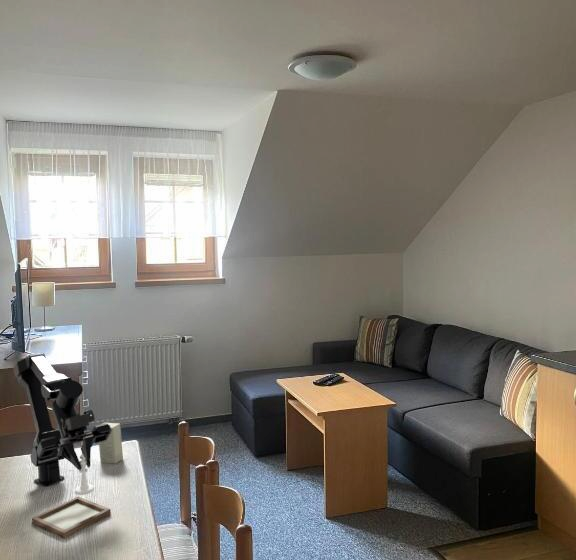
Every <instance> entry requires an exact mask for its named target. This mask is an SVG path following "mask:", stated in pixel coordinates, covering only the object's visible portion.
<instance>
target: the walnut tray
mask: <svg viewBox="0 0 576 560" xmlns="http://www.w3.org/2000/svg"><path fill="white" fill-rule="evenodd" d="M111 514H112V513H111V508H109V507H106V506H103V505H101V504H99V503H96V502H94V501H91V500H89V499H85V498H83V497H81V496H75V497H74V498H71V499H69V500H68V501H65V502H63V503H61V504H58V505H56V506H55V507H52V508H49V509H48V510H46V511H43V512H42V513H38V514H37V515H35V516H33V517H31V525H33V526H36V527H38V528H40V529H43V530H44V531H47V532H48V533H51V534H52V535H55V536H58V537H60V538H62V539H64V540H65V539H67V538H69V537H70V536H73V535H75V534H76V533H79V532H81V531H82V530H84V529H86V528H89V527H90V526H92V525H94V524H96V523H98V522H100V521H102V520H104V519H105V518H107V517H109V516H111Z"/></svg>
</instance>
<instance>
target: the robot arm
mask: <svg viewBox="0 0 576 560" xmlns="http://www.w3.org/2000/svg"><path fill="white" fill-rule="evenodd" d="M13 374H14V377H15V378H16V379H17V382H18V384H19V385H20V386H21V387H22V388H24V389H25V392H26V396H27V398H28V404H29V408H30V411H31V415H32V419H33V424H34V428H35V432H36V435H35V438H34V440H33V443H32V444H33V448H32V450H31V454H30V455H29V456H30V462H31V464H32V465H33V466H34V467H37V473H38V478H35V479H34V480H33V481H34V483H37V484H38V485H41V486H44V487H48V486H51V485H52V484H56V483H57V482H60V481H62V480H64V479H65V476H64V475H61V471H60V470H61V469H60V461H61V460H65V459H66V460H67V461H68V462H69V463H71V464H72V465H73V466H74V468H76V469H77V470H78V471H79V470H81V465H80V458H79V457H78V455H77V452H76V450H75V447H74V444H78V443H81V447H80V451H81V455H82V454H83V455H84V457H85V459H84V460H86V461H87V463H86V466H87V468H88V469H90V467H91V455H92V454H91V453H92V452H91V451H92V447H93V445H94V443H95V444H99V442H102V441H105V440H107V439H108V437H109V435H110V433H111V431H112V430H111V427H110V425H109V424H107V423H108V422H107V423H105V422H104V423H105V424H103V423H101V424H97V425H95V426H94V427H93V429H92V430H91V431H89V432H85V431H87V429H88V426H90V423H93V422H94V421H95V417H96V416H95V414H94V412H93V409H87V410H85V411H84V412H83V413H82V414H80V412H79V413H78V411H77V409H76V407H77V405H78V403H79V401H80V398H81V397H82V393H83V391H84V390H83V385H82V384H81V383H80V382H78V381H77V380H73V379H72V377H70V376H69V377H67V376H66V375H65V374H63V373H60V372H57V371H56V370H55V369H54V367H53V366H52V365H51V364H50V362H49V361H48V360H47V358H46V355H45V353H42V352H40V353H33V354H28V355H26V356H25V358H23V359H21V360H19V361H16V363H15V364H14V365H13ZM53 400H54V401H53ZM47 401H53V403H52V405H51V412H52V414H53V415H54V418H55V421H56V424H57V429H56V428H55V427H54V426H53V425H52V420H51V416H50V413H49V409H48V405H47Z"/></svg>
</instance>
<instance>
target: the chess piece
mask: <svg viewBox="0 0 576 560" xmlns="http://www.w3.org/2000/svg"><path fill="white" fill-rule="evenodd" d="M84 459H85V457H84V455H83V454H82V453H81V455H80V456H79V462H80V465H81V470H78V472H79V473H81V479H80V485H78V486H77V487H76V488H75V489H74V494H75V495H77V496H85V495H89V494H91V493H93V492H94V491H95V487H94V485H93V484H90V483H89V482H88V480H87V476H86V475H87V474H86V472H88V469H87V468H86V466H87V465H86V463H87V461H86V460H84Z"/></svg>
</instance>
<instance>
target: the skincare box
mask: <svg viewBox="0 0 576 560" xmlns="http://www.w3.org/2000/svg"><path fill="white" fill-rule="evenodd" d="M105 423H107V424H109V425H110V427H111V430H112V431H111V433H110V435H109V437H108V439H107V440H105V441H102V442H99V443H98V450H99V458H100V463H109V464H117V463H118V462H120V461H122V459H124V455H123V454H124V453H123V442H122V441H123V440H122V428H121V423H118V422H103V423H102V424H105Z"/></svg>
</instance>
